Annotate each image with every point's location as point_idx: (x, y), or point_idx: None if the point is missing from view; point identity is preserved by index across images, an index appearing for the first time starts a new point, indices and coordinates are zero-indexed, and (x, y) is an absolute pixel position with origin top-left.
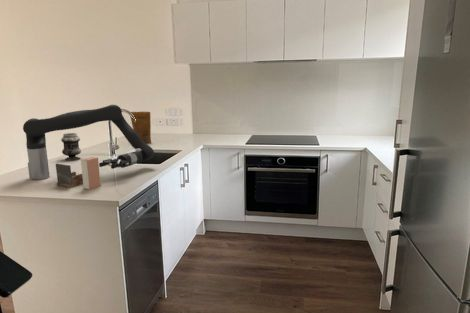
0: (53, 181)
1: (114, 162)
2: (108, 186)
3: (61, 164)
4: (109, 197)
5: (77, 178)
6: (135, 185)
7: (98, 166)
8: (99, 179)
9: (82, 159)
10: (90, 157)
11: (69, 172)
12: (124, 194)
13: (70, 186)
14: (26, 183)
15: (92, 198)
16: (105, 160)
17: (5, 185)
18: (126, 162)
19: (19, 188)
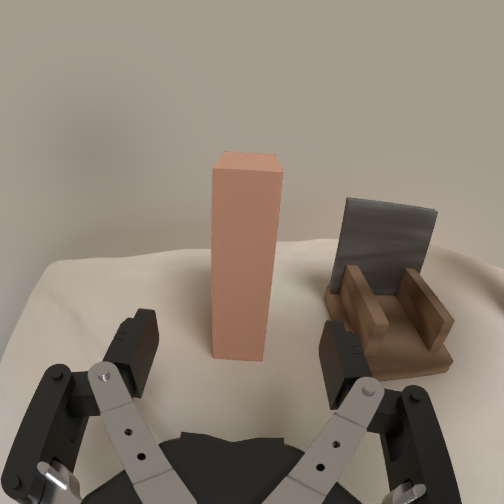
0: (467, 318)
1: (227, 447)
2: (155, 360)
3: (403, 205)
4: (83, 270)
5: (354, 303)
6: (9, 394)
7: (211, 239)
8: (212, 323)
9: (273, 155)
10: (280, 168)
11: (341, 232)
12: (38, 295)
13: (326, 293)
14: (480, 281)
15: (137, 257)
16: (410, 415)
17: (482, 262)
18: (19, 446)
19: (438, 259)
